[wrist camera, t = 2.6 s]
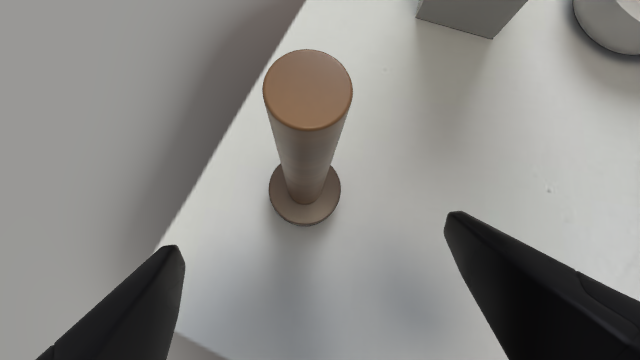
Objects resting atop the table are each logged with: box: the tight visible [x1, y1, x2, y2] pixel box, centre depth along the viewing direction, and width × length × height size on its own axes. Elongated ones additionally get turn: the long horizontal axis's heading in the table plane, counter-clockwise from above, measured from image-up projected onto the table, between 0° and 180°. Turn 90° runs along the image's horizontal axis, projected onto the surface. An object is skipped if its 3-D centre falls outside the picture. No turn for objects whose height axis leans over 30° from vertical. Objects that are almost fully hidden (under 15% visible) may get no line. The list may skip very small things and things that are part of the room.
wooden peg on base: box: [263, 49, 353, 226], centre depth 14 cm, size 5×5×14 cm
